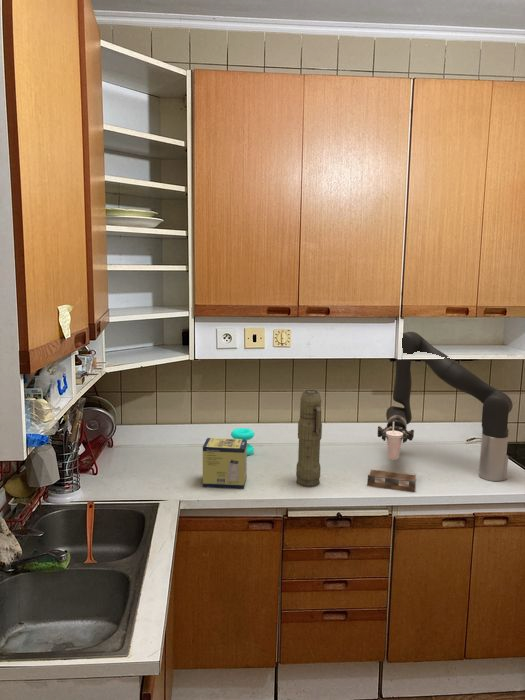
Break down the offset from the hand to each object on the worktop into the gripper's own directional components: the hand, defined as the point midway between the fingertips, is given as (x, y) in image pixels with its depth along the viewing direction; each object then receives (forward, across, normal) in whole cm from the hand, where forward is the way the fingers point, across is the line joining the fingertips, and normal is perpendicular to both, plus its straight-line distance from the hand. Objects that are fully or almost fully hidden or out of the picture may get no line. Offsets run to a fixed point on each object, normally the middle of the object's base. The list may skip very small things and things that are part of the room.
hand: (394, 439), depth 198 cm
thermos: (+9, -30, +18) cm, 36 cm away
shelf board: (-2, 0, +18) cm, 18 cm away
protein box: (+20, -59, +18) cm, 65 cm away
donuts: (-13, -64, +18) cm, 67 cm away
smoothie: (-2, 0, +8) cm, 9 cm away
